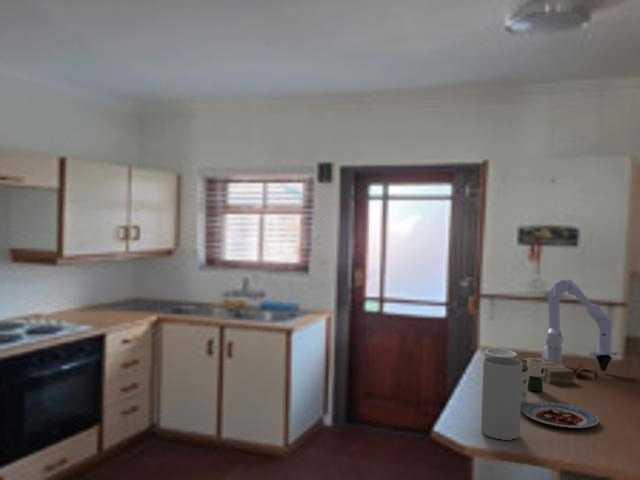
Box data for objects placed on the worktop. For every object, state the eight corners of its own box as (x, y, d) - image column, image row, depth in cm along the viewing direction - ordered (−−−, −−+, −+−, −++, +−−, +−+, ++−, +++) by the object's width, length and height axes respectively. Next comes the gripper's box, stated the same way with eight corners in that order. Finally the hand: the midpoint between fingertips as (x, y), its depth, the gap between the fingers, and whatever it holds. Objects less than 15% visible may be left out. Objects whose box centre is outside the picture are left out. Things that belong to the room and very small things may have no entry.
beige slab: (521, 370, 272) (522, 358, 272) (541, 369, 275) (542, 357, 275) (551, 384, 251) (551, 371, 250) (572, 382, 253) (573, 370, 253)
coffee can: (501, 394, 234) (502, 361, 233) (527, 398, 230) (529, 364, 229) (498, 401, 225) (499, 367, 224) (525, 406, 220) (526, 370, 220)
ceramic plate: (594, 439, 189) (594, 430, 189) (515, 422, 203) (515, 414, 203) (602, 416, 211) (602, 408, 211) (530, 403, 225) (530, 395, 225)
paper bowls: (512, 374, 266) (513, 357, 265) (480, 368, 274) (480, 352, 273) (519, 367, 279) (520, 351, 278) (488, 362, 287) (489, 346, 286)
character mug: (543, 395, 235) (544, 364, 234) (525, 392, 237) (526, 362, 237) (544, 388, 245) (545, 358, 244) (526, 385, 247) (528, 356, 247)
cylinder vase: (483, 424, 199) (485, 354, 198) (520, 430, 194) (523, 359, 193) (478, 437, 188) (481, 363, 187) (518, 444, 183) (521, 368, 182)
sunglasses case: (596, 380, 257) (589, 367, 258) (581, 386, 260) (574, 373, 261) (596, 371, 273) (589, 358, 275) (582, 377, 276) (575, 364, 277)
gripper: (597, 344, 264) (596, 373, 265) (623, 343, 268) (622, 372, 268) (587, 341, 271) (585, 369, 272) (612, 340, 275) (611, 368, 275)
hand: (603, 370), depth 270 cm, fingers closed
